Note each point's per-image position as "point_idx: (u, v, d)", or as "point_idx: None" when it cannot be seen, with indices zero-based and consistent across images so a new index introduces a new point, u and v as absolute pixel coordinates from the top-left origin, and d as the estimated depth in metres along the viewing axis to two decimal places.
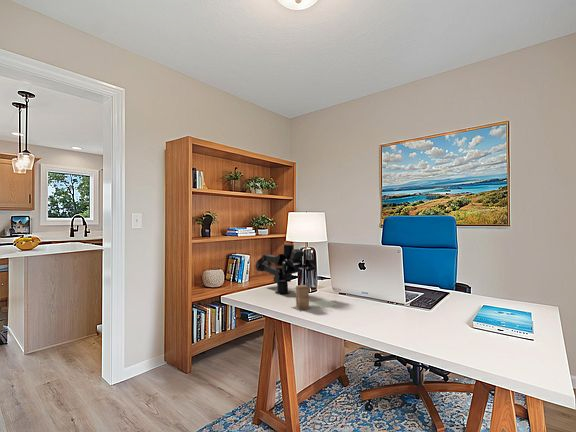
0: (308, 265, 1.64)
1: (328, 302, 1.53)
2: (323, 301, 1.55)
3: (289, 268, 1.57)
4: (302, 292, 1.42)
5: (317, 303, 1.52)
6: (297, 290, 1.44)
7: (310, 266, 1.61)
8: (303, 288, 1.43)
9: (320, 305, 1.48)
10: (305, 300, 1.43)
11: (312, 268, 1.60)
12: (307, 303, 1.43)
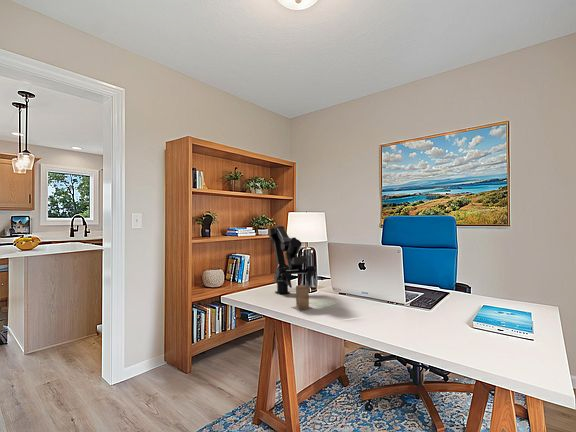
0: (307, 273, 1.53)
1: (328, 302, 1.53)
2: (323, 301, 1.55)
3: (283, 276, 1.50)
4: (302, 292, 1.42)
5: (317, 303, 1.52)
6: (297, 290, 1.44)
7: (307, 277, 1.52)
8: (303, 288, 1.43)
9: (320, 305, 1.48)
10: (305, 300, 1.43)
11: (307, 282, 1.50)
12: (307, 303, 1.43)
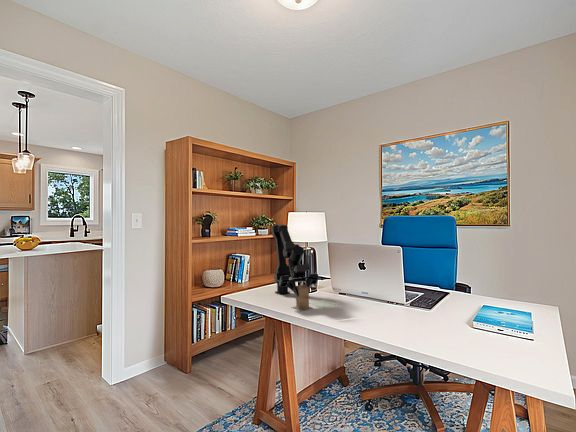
0: (305, 282, 1.49)
1: (328, 302, 1.53)
2: (323, 301, 1.55)
3: (290, 284, 1.47)
4: (302, 292, 1.42)
5: (317, 303, 1.52)
6: None
7: None
8: (303, 288, 1.43)
9: (320, 305, 1.48)
10: (305, 300, 1.43)
11: None
12: (307, 303, 1.43)
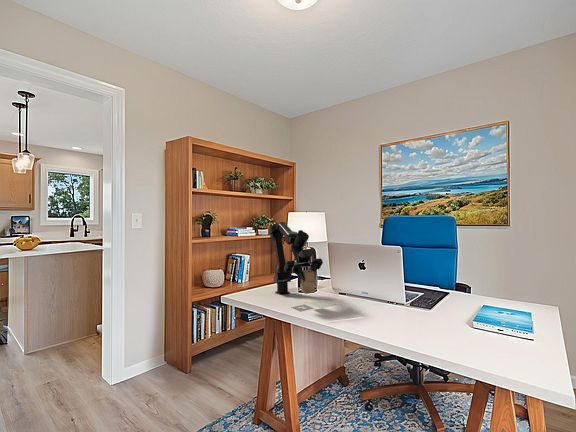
0: (310, 267, 1.50)
1: (328, 302, 1.53)
2: (323, 301, 1.55)
3: (295, 269, 1.47)
4: (308, 276, 1.44)
5: (317, 303, 1.52)
6: None
7: None
8: (310, 273, 1.44)
9: (320, 305, 1.48)
10: (311, 284, 1.44)
11: None
12: (313, 287, 1.45)
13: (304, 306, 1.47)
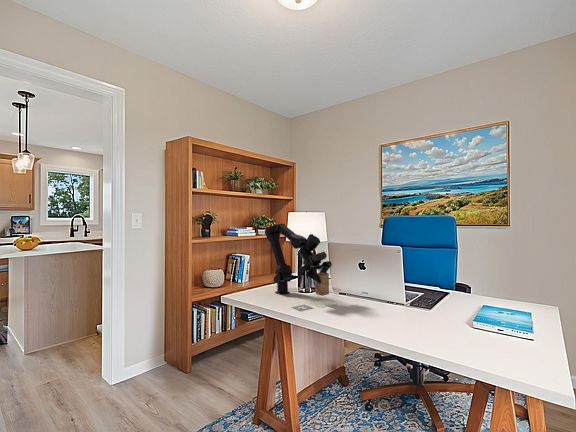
0: (321, 269, 1.56)
1: (328, 302, 1.53)
2: (323, 301, 1.55)
3: (310, 272, 1.51)
4: (324, 279, 1.49)
5: (317, 303, 1.52)
6: None
7: None
8: (325, 275, 1.50)
9: (320, 305, 1.48)
10: (326, 286, 1.50)
11: None
12: (328, 289, 1.51)
13: (304, 306, 1.47)
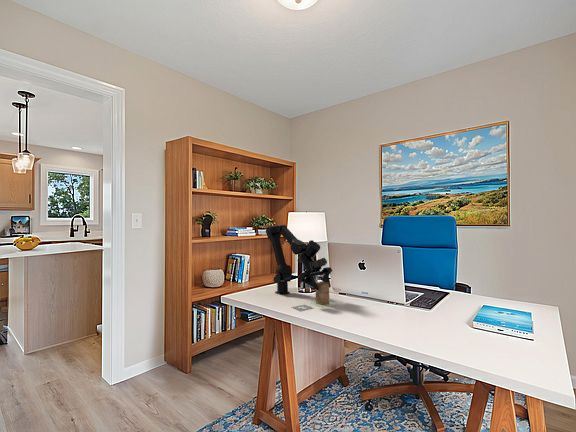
0: (324, 275, 1.57)
1: None
2: None
3: (308, 279, 1.50)
4: (324, 288, 1.49)
5: None
6: (318, 287, 1.50)
7: (325, 279, 1.55)
8: (325, 284, 1.50)
9: (320, 305, 1.48)
10: (327, 295, 1.50)
11: None
12: (328, 298, 1.51)
13: (304, 306, 1.47)
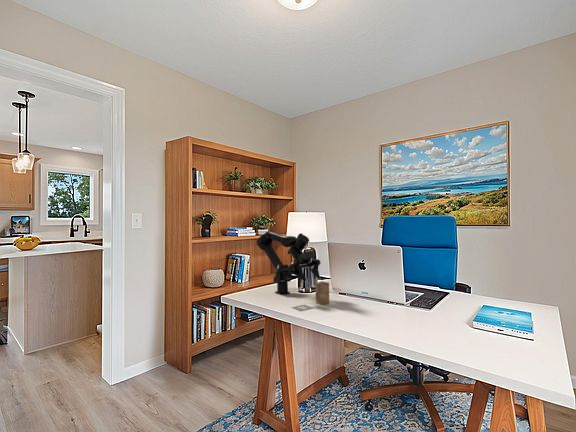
0: (313, 267, 1.64)
1: None
2: None
3: (296, 270, 1.56)
4: (324, 288, 1.49)
5: None
6: (318, 287, 1.50)
7: (315, 270, 1.62)
8: (325, 284, 1.50)
9: (320, 305, 1.48)
10: (327, 295, 1.50)
11: (316, 274, 1.61)
12: (328, 298, 1.51)
13: (304, 306, 1.47)
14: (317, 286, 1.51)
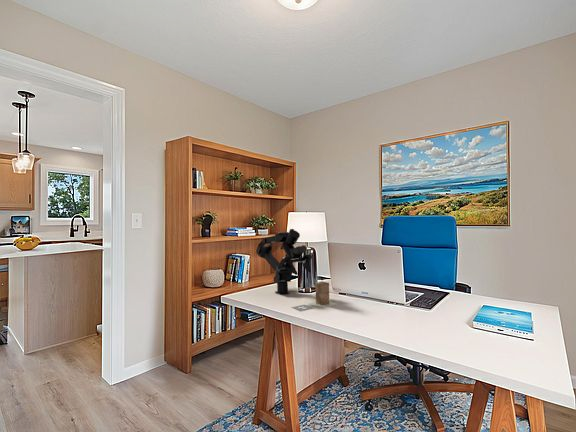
0: (305, 261, 1.68)
1: None
2: None
3: (287, 265, 1.60)
4: (324, 288, 1.49)
5: None
6: (318, 287, 1.50)
7: (306, 265, 1.66)
8: (325, 284, 1.50)
9: (320, 305, 1.48)
10: (327, 295, 1.50)
11: (307, 269, 1.65)
12: (328, 298, 1.51)
13: (304, 306, 1.47)
14: (317, 286, 1.51)
